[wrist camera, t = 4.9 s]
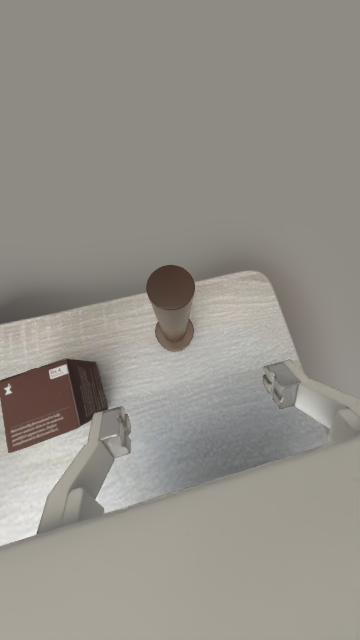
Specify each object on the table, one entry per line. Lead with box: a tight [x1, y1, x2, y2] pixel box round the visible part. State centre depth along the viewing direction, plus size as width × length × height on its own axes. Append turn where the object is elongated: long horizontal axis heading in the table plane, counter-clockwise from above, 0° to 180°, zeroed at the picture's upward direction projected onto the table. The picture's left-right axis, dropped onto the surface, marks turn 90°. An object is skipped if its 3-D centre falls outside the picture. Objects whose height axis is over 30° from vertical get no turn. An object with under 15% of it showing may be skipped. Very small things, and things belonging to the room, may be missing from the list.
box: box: [0, 359, 108, 453], centre depth 21 cm, size 6×6×7 cm
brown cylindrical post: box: [147, 265, 195, 351], centre depth 19 cm, size 4×4×16 cm
